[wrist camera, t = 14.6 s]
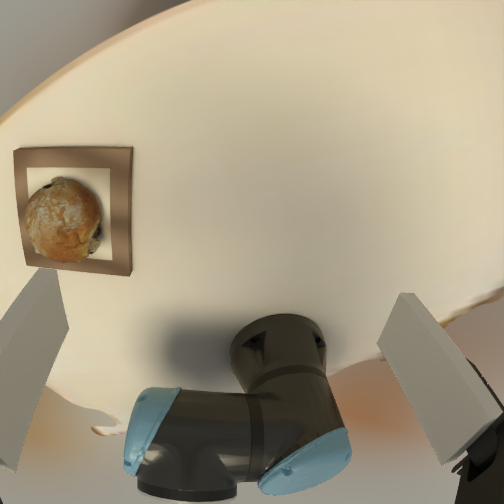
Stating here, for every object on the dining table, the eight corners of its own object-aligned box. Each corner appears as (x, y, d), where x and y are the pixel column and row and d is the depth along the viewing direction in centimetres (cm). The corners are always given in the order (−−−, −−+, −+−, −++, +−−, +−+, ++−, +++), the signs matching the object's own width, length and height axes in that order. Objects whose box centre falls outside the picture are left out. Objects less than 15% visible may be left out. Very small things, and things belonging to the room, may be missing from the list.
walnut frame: (132, 270, 40) (129, 276, 38) (31, 260, 37) (26, 265, 36) (133, 147, 33) (129, 149, 31) (19, 148, 30) (12, 150, 28)
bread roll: (97, 166, 35) (59, 155, 27) (123, 243, 35) (88, 247, 27) (43, 203, 36) (3, 200, 28) (66, 273, 36) (27, 283, 28)
